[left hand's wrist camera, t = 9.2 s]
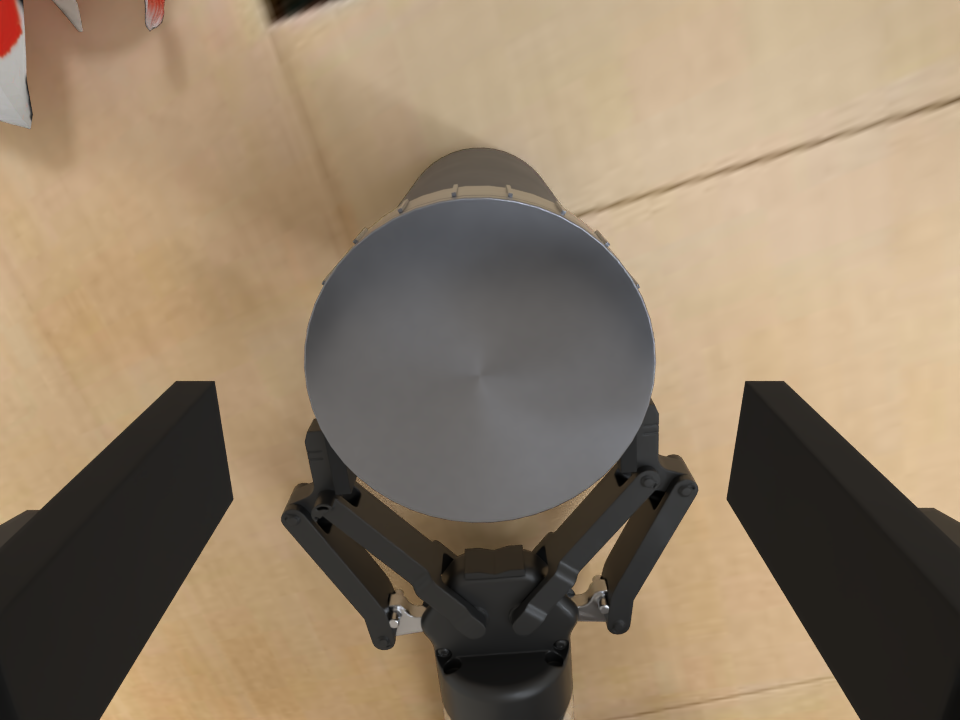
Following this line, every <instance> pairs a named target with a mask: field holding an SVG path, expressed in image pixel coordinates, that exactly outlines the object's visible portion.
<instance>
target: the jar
mask: <svg viewBox="0 0 960 720" xmlns="http://www.w3.org/2000/svg"><path fill="white" fill-rule="evenodd" d="M455 184H458V187H464V186H495V187H503V188H506V185H510V186H511V189H515V190H519V191H523V192H527V193H531V194H534V195H536V196H539V197H541V198H544V199H546V200H548V201H551V202H553V203H555V201H558V200H557V199H556V197H555V196H554V195H553V193H552V192H551V190H550V189H549V188H548V186H547V185H546V184H545V182H544V181H543V180H542V178H541V177H540V175H539V174H538V173H537V172H536V171H535V170H534V169H533V168H532V167H530V166H529V165H528V164H527V163H525V162H524V161H523V160H521V159H519V158H517V157H516V156H514V155H511V154H509V153H506V152H504V151H500V150H496V149H489V148H470V149H464V150H460V151H457V152H453V153H451V154H449V155H447V156H444V157H442V158H441V159H439V160H438V161H436V162H434V163H433V164H432V165H431V166H430V167H428V168H427V169H426V170H425V171H424V172H423V173H422V175H421V176H420V177H419V178H418V179H417V181H416V182H415V183H414V185H413V186H412V188H411V189H410V190H409V192H408V193H407V194H406V196H405V197H404V199H403V200H402V201H401V203H400V204H399V205H398V207H399V206H401V204H402V203H403V201H404V200H406V199H408V200H409V202H410V201H412V200H414V199H416V198H418V197H421V196H423V195H427V194H430V193H434V192H437V191H440V190H444V189H450V188H453V185H455ZM558 202H559V201H558ZM398 207H397V208H398Z"/></svg>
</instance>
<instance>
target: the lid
mask: <svg viewBox="0 0 960 720" xmlns="http://www.w3.org/2000/svg"><path fill="white" fill-rule="evenodd" d="M353 243H354V245H353V246H352V247H351V249H350V250H349V251H348V252H347V253H346V255H345V256H344V257H343V258H342V259H341V261H340V262H339V263H338V264H337V266H335V267H334V269H333V270H332V271H331V272H330V273H329V275H328V276H327V277H326V278H325V279H324V281H323V282H322V285H324V286H323V288H322V290H321V292H320V294H319V296H318V298H317V300H316V302H315V304H314V308H313V311H312V314H311V317H310V320H309V323H308V328H307V335H306V341H305V353H304V370H305V378H306V386H307V391H308V395H309V399H310V402H311V406H312V409H313V412H314V414H315V417H316V419H317V421H318V424H319V426H320V428H321V430H322V432H323V434H324V435H325V437H326V439H327V440H328V442H329V444H330V446H331V447H332V448H333V450H334V451H335V452H336V453H337V455H338V456H339V457H340V459H341V460H342V461H343V463H344V464H345V465H346V466H347V467H348V468H349V469H350V470H351V471H352V472H353V473H354V474H355V475H356V476H357V477H358V478H360V479H361V480H362V481H363V482H365V483H366V484H367V485H369V486H370V487H371V488H372V489H374V490H375V491H377V492H378V493H380V494H382V495H383V496H385V497H386V498H388V499H390V500H391V501H393V502H395V503H398V504H400V505H402V506H404V507H406V508H408V509H411V510H413V511H416V512H420V513H423V514H426V515H429V516H432V517H437V518H442V519H446V520H451V521H461V522H472V523H477V522H499V521H507V520H515V519H519V518H523V517H527V516H531V515H535V514H538V513H541V512H543V511H546V510H549V509H552V508H554V507H556V506H558V505H560V504H562V503H564V502H566V501H568V500H570V499H572V498H574V497H575V496H577V495H578V494H580V493H581V492H583V491H585V490H586V489H588V488H589V487H590V486H592V485H593V484H594V483H595V482H596V481H598V480H599V479H600V478H601V477H602V476H604V475H605V474H606V473H607V472H608V471H609V470H610V469H611V468H612V466H613V465H614V464H615V463H616V462H617V461H618V460H619V459H620V458H621V456H622V455H623V454H624V452H625V451H626V449H627V448H628V447H629V445H630V444H631V442H632V441H633V439H634V437H635V435H636V433H637V432H638V430H639V428H640V426H641V424H642V422H643V419H644V417H645V414H646V411H647V409H648V406H649V403H650V399H651V394H652V390H653V386H654V378H655V367H656V355H655V339H654V333H653V330H652V325H651V320H650V317H649V314H648V311H647V308H646V305H645V303H644V300H643V297H642V296H641V294H640V292H639V290H638V288H640V286H639V284H638V283H637V282H636V281H635V280H634V278H633V277H632V276H631V275H630V274H629V272H628V271H627V270H626V269H625V267H624V266H623V265H622V263H621V262H620V261H619V259H618V258H617V257H616V256H615V254H614V253H613V252H612V251H611V250H610V248H609V247H608V246H609V245H610V244H609V243H608V241H607V240H606V239H605V238H604V237H603V236H602V235H601V233H600V232H599V231H598V230H596V231H595V232H594V231H593V230H592V229H591V228H590V227H589V226H588V225H586V224H585V223H584V222H583V221H581V220H580V219H579V218H577V217H576V216H575V215H574V214H572V213H571V212H569V211H567V210H565V209H564V208H563V207H562V205H561V204H560V202H558V201H555V203H553V202H551V201H548V200H546V199H544V198H541V197H539V196H536V195H534V194H531V193H527V192H523V191H519V190H515V189H511V186H510V185H506V188H503V187H495V186H464V187H458V184H455V185H453V188H450V189H444V190H440V191H437V192H434V193H430V194H427V195H423V196H421V197H418V198H416V199H414V200H412V201H410V202H409V200H408V199H406V200H404V201H403V203H402V204H401V206H399V207H398V208H396V209H395V210H393V211H391V212H390V213H388V214H387V215H385V216H383V217H382V218H381V219H380V220H379V221H377V222H376V223H375V224H374V225H373V226H371V227H370V228H369V229H367V228H366V227H365V228H364V229H363V230H362V231H361V233H360V234H359V235H358V236H357V237H356V238H355V240H354V241H353Z"/></svg>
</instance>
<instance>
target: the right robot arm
mask: <svg viewBox="0 0 960 720" xmlns="http://www.w3.org/2000/svg"><path fill="white" fill-rule="evenodd" d="M658 424H659V413H658V411H657V409H656V407H655V405H654V403H653V401H652V399H650V403H649V406H648V409H647V411H646V414H645V417H644V419H643V422H642V424H641V426H640V428H639V430H638V432H637V433H636V435H635V437H634V439H633V441H632V442H631V444H630V445H629V447H628V448H627V449H626V451H625V452H624V454H623V455H622V456H621V458H620V459H619V460H618V461H617V463H616V464H615V465H614V467H613V468H612V469H611V470H610V471H609V472H608V473H607V474H606V475H605V477H604V478H603V479H602V480H601V481H600V482H599V483H598V484H597V486H596V487H595V488H594V489H593V490H592V491H591V492H590V493H589V495H588V496H587V497H586V498H585V499H584V500H583V501H582V502H581V504H580V505H579V506H578V507H577V508H576V509H575V510H574V511H573V512H572V514H571V515H570V516H569V517H568V518H567V519H566V520H565V521H564V523H563V524H562V525H561V526H560V527H559V528H558V529H557V530H556V531H555V532H554V533H553V532H549V533H548V534H547V535H546V536H545V537H544V538H543V539H542V541H541V542H540V543H539V544H538V545H537V546H536V547H535V548H534V550H533V551H532V552H531V551H529V550H525V549H523V547H522V545H513V546H506V547H503V548H500V549H496V550H489V549H482V548H473V549H465V554H462V555H460V556H456V555H455V554H454V553H453V552H451V551H450V550H449V549H448V548H446V547H445V546H444V545H443V544H441V543H440V542H439V541H436V540H435V541H430V540H429V539H427V538H426V537H425V536H424V535H422V534H421V533H420V532H419V531H417V530H416V529H415V528H414V527H412V526H411V525H410V524H409V523H407V522H406V521H405V520H404V519H402V518H401V517H400V516H399V515H397V514H396V513H395V512H394V511H392V510H391V509H390V508H389V507H387V506H386V505H385V504H384V503H382V502H381V501H380V500H379V499H377V498H376V497H375V496H373V495H372V494H371V493H370V492H368V491H367V490H366V489H365V488H363V487H362V486H361V485H360V484H358V483H357V482H356V481H355V480H356V477H357V476H356V475H355V474H354V473H353V472H352V471H351V470H350V469H349V468H348V467H347V466H346V465H345V464H344V463H343V461H342V460H341V459H340V457H339V456H338V455H337V453H336V452H335V451H334V450H333V448H332V447H331V446H330V444H329V442H328V440H327V439H326V437H325V435H324V434H323V432H322V430H321V428H320V426H319V424H318V421H317V419H314V420H313V422H312V424H311V426H310V427H309V429H308V431H307V435H306V439H305V445H306V450H307V454H308V459H309V464H310V469H311V473H312V478H313V483H310V484H308V483H301V484H298V485H297V486H296V487H295V489H294V491H293V493H292V495H291V497H290V499H289V501H288V503H287V505H286V507H285V510H284V512H283V514H282V517H281V522H282V523H283V525H284V526H285V528H286V529H287V530H288V531H289V532H290V533H291V534H292V536H293V537H294V538H295V539H296V540H297V541H298V543H299V544H300V545H301V546H302V547H303V548H304V550H305V551H306V552H307V553H308V554H309V555H310V556H311V558H312V559H313V560H314V561H315V562H316V563H317V565H318V566H319V567H320V568H321V569H322V570H323V572H324V573H325V574H326V575H327V576H328V577H329V578H330V580H331V581H332V582H333V583H334V584H335V585H336V587H337V588H338V589H339V590H340V591H341V592H342V594H343V595H344V596H345V597H346V598H347V599H348V600H349V602H350V603H351V604H352V605H353V606H354V607H355V609H356V610H357V611H358V612H359V613H360V614H361V616H362V617H363V618H364V619H365V622H366V625H367V628H368V631H369V634H370V637H371V639H372V642H373V644H374V646H375V647H376V648H378V649H381V650H388V649H391V648H392V647H393V646H394V644H395V639H396V636H398V635H404V634H411V633H417V632H424V634H425V635H426V636H427V637H428V638H429V639H430V641H431V642H432V644H433V646H434V650H435V657H436V664H437V670H438V677H439V683H440V690H441V697H442V702H443V705H444V708H443V712H444V718H445V720H575V717H574V700H573V693H572V689H573V681H572V662H571V642H570V635H571V632H572V630H573V628H574V626H575V625H576V623H577V621H597V622H606V624H607V628H608V630H609V631H610V632H611V633H613V634H623V633H625V632H626V631H627V630H628V629H629V627H630V622H631V615H632V608H633V600H634V599H635V597H636V595H637V594H638V592H639V590H640V589H641V587H642V585H643V584H644V582H645V580H646V579H647V577H648V575H649V574H650V572H651V570H652V569H653V567H654V565H655V564H656V562H657V560H658V558H659V557H660V555H661V553H662V552H663V550H664V548H665V547H666V545H667V543H668V542H669V540H670V538H671V537H672V535H673V533H674V532H675V530H676V528H677V527H678V525H679V523H680V522H681V520H682V518H683V517H684V515H685V513H686V512H687V510H688V508H689V507H690V505H691V503H692V502H693V500H694V498H695V496H696V495H697V492H698V486H697V484H696V482H695V480H694V478H693V477H692V475H691V473H690V471H689V469H688V468H687V466H686V464H685V462H684V461H683V459H682V458H681V457H680V456H678V455H674V454H673V455H668V456H667V457H665V456H661V455H659V454H658V441H659V434H658V432H659V426H658ZM628 519H629V520H628ZM627 520H628V522H627V524H626V526H625V527H624V529H623V531H622V533H621V534H620V536H619V538H618V540H617V542H616V543H615V545H614V547H613V549H612V550H611V552H610V554H609V556H608V558H607V560H606V562H605V564H604V568H603V571H602V576H599V575H597V576H594V577H593V579H592V581H593V582H592V583H591V584H590V586H589V588H588V590H587V591H586V592H585V593H583V594H580V595H575V593H574V591H573V590H572V587H573V586H574V584H575V582H576V579H577V575H578V573H579V572H580V570H581V569H582V568H583V567H584V566H585V565H586V564H587V563H588V562H589V561H590V560H591V559H592V558H593V557H594V555H595V554H596V553H597V552H598V551H599V550H600V549H601V548H602V547H603V546H604V545H605V544H606V543H607V542H608V540H609V539H610V538H611V537H612V536H613V535H614V534H615V533H616V532H617V531H618V530H619V529H620V528H621V526H622V525H623V524H624V523H625V522H626V521H627ZM365 549H366V550H367V551H369V552H370V553H371V554H373V555H374V556H375V557H377V558H378V559H379V560H381V561H382V562H383V563H384V564H386V565H387V566H388V567H390V568H391V569H392V570H394V571H395V572H396V573H397V574H399V575H400V576H401V577H403V578H404V579H405V580H407V581H408V582H409V583H410V584H411V585H412V586H413V588H414V590H415V593H416V594H417V596H418V597H419V598H420V599H422V600H423V601H424V602H423V605H421V606H417V605H413V604H411V603H410V602H409V601H408V600H407V598H406V597H405V596H404V592H403V591H402V590H400V589H397V590H395V591H394V588H393V586H392V584H391V582H390V580H389V578H388V577H387V575H386V574H385V573H384V571H383V570H382V569H381V568H380V567H379V565H378V564H377V563H376V562H375V561H374V559H373V558H372V557H371V556H370V554H369V553H368V552H367V551H366V550H365ZM441 574H442V576H441Z"/></svg>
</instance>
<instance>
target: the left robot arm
mask: <svg viewBox="0 0 960 720" xmlns="http://www.w3.org/2000/svg"><path fill="white" fill-rule="evenodd" d="M232 501H233V493H232V487H231V481H230V475H229V468H228V462H227V456H226V449H225V443H224V437H223V431H222V424H221V418H220V412H219V405H218V399H217V393H216V387H215V381H176V382H175V383H174V384H173V385H172V386H171V387H169V388H168V389H167V390H166V391H165V392H164V393H163V394H162V395H161V396H160V397H159V398H158V399H157V400H156V401H155V402H154V403H153V404H152V405H150V406H149V407H148V408H147V409H146V410H145V411H144V412H143V413H142V414H141V415H140V416H139V417H138V418H137V419H136V420H135V421H134V422H133V423H131V424H130V425H129V426H128V427H127V428H126V429H125V430H124V431H123V432H122V433H121V434H120V435H119V436H118V437H117V438H116V439H115V440H113V441H112V442H111V443H110V444H109V445H108V446H107V447H106V448H105V449H104V450H103V451H102V452H101V453H100V454H99V455H98V456H97V457H96V458H94V459H93V460H92V461H91V462H90V463H89V464H88V465H87V466H86V467H85V468H84V469H83V470H82V471H81V472H80V473H79V474H78V475H77V476H75V477H74V478H73V479H72V480H71V481H70V482H69V483H68V484H67V485H66V486H65V487H64V488H63V489H62V490H61V491H60V492H59V493H58V494H56V495H55V496H54V497H53V498H52V499H51V500H50V501H49V502H48V503H47V504H46V505H45V506H44V507H43V508H42V509H41V510H26V511H25V512H23V513H21V514H19V515H18V516H16V517H14V518H12V519H10V520H9V521H7V522H5V523H3V524H2V525H0V720H100V718H101V716H102V715H103V713H104V712H105V710H106V708H107V707H108V705H109V703H110V702H111V700H112V698H113V697H114V695H115V693H116V692H117V690H118V688H119V687H120V685H121V684H122V682H123V680H124V679H125V677H126V675H127V674H128V672H129V670H130V669H131V667H132V665H133V664H134V662H135V660H136V659H137V657H138V656H139V654H140V652H141V651H142V649H143V647H144V646H145V644H146V642H147V641H148V639H149V637H150V636H151V634H152V633H153V631H154V629H155V628H156V626H157V624H158V623H159V621H160V619H161V618H162V616H163V614H164V613H165V611H166V609H167V608H168V606H169V605H170V603H171V601H172V600H173V598H174V596H175V595H176V593H177V591H178V590H179V588H180V586H181V585H182V583H183V581H184V580H185V578H186V577H187V575H188V573H189V572H190V570H191V568H192V567H193V565H194V563H195V562H196V560H197V558H198V557H199V555H200V554H201V552H202V550H203V549H204V547H205V545H206V544H207V542H208V540H209V539H210V537H211V535H212V534H213V532H214V530H215V529H216V527H217V526H218V524H219V522H220V521H221V519H222V517H223V516H224V514H225V512H226V511H227V509H228V507H229V506H230V504H231V502H232ZM727 501H728V502H729V504H730V506H731V507H732V509H733V511H734V512H735V514H736V516H737V517H738V519H739V521H740V522H741V524H742V526H743V527H744V529H745V530H746V532H747V534H748V535H749V537H750V539H751V540H752V542H753V544H754V545H755V547H756V549H757V550H758V552H759V554H760V555H761V557H762V558H763V560H764V562H765V563H766V565H767V567H768V568H769V570H770V572H771V573H772V575H773V577H774V578H775V580H776V581H777V583H778V585H779V586H780V588H781V590H782V591H783V593H784V595H785V596H786V598H787V600H788V601H789V603H790V605H791V606H792V608H793V609H794V611H795V613H796V614H797V616H798V618H799V619H800V621H801V623H802V624H803V626H804V628H805V629H806V631H807V633H808V634H809V636H810V637H811V639H812V641H813V642H814V644H815V646H816V647H817V649H818V651H819V652H820V654H821V656H822V657H823V659H824V660H825V662H826V664H827V665H828V667H829V669H830V670H831V672H832V674H833V675H834V677H835V679H836V680H837V682H838V684H839V685H840V687H841V688H842V690H843V692H844V693H845V695H846V697H847V698H848V700H849V702H850V703H851V705H852V707H853V708H854V710H855V712H856V713H857V715H858V716H859V718H860V720H960V522H958V521H956V520H954V519H953V518H951V517H949V516H947V515H945V514H944V513H942V512H940V511H938V510H936V509H935V508H917V507H916V506H915V505H914V504H913V503H912V502H911V501H910V500H909V499H908V498H907V497H906V496H905V495H904V494H902V493H901V492H900V491H899V490H898V489H897V488H896V487H895V486H894V485H893V484H892V483H891V482H890V481H889V480H888V479H887V478H886V477H885V476H883V475H882V474H881V473H880V472H879V471H878V470H877V469H876V468H875V467H874V466H873V465H872V464H871V463H870V462H869V461H868V460H867V459H866V458H864V457H863V456H862V455H861V454H860V453H859V452H858V451H857V450H856V449H855V448H854V447H853V446H852V445H851V444H850V443H849V442H848V441H847V440H845V439H844V438H843V437H842V436H841V435H840V434H839V433H838V432H837V431H836V430H835V429H834V428H833V427H832V426H831V425H830V424H829V423H827V422H826V421H825V420H824V419H823V418H822V417H821V416H820V415H819V414H818V413H817V412H816V411H815V410H814V409H813V408H812V407H811V406H810V405H808V404H807V403H806V402H805V401H804V400H803V399H802V398H801V397H800V396H799V395H798V394H797V393H796V392H795V391H794V390H793V389H792V388H791V387H789V386H788V385H787V384H786V383H785V382H784V381H745V387H744V393H743V399H742V405H741V412H740V418H739V424H738V431H737V437H736V443H735V449H734V456H733V462H732V468H731V475H730V481H729V487H728V493H727Z"/></svg>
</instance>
